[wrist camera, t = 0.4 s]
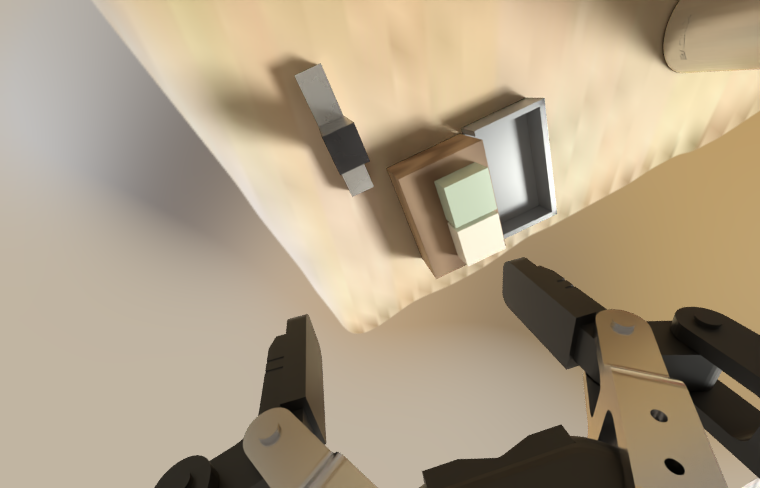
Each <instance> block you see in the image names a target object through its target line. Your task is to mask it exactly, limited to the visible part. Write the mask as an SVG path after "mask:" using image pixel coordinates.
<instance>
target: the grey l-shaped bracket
mask: <svg viewBox="0 0 760 488" xmlns="http://www.w3.org/2000/svg"><path fill="white" fill-rule="evenodd" d="M294 76H295V78H296V80H297V82H298V84H299V87H300V89H301V91H302V93H303V95H304V97H305V99H306V101H307V103H308V105H309V107H310V109H311V112H312V114H313V116H314V118H315V120H316V122H317V124H318V126H319V129H320V132H321V136H322V138H323V140H324V142H325V144H326V147H327V149H328V151H329V153H330V155H331V157H332V159H333V161H334V163H335V165H336V167H337V169H338V171H339V173H340V175H342V176H343V178H344V180H345V182H346V185H347V187H348V189H349V191H350V193H351V195H352V197H353V196H355V195H357V194H360V193H362V192H364V191H366V190H368V189H370V188H372V187H374V186H373V183H372V181H371V179H370V176H369V174H368V172H367V169H366V167H365V165H364V164H365V163H367V162H369V161H370V160H369V158H368V155H367V153H366V150H365V148H364V146H363V143H362V141H361V139H360V136H359V134H358V131H357V129H356V127H355V124H354V122H352V121H351V120H349V119H348V118H346V117H345V116H343V114H342V112H341V109H340V107H339V105H338V102H337V100H336V98H335V95H334V93H333V91H332V88H331V86H330V84H329V81H328V79H327V77H326V75H325V72H324V70H323V68H322V65H321V63H320V64H318V65H316V66H314V67H311V68H309V69H307V70H305V71H303V72H301V73H299V74H297V75H294Z"/></svg>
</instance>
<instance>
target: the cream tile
mask: <svg viewBox="0 0 760 488" xmlns="http://www.w3.org/2000/svg"><path fill="white" fill-rule="evenodd" d="M448 226H449V230H450V233H451V236H452V239H453V242H454V245H455V248H456V251H457V254H458V256H459V257H460V258H461V259H462V261H463V262H464V263H465V264H466V265H467V266H470V265H472V264H474V263H476V262H478V261H480V260H483V259H485V258H487V257H489V256H491V255H493V254H495V253H497V252H499V251H502V250H504V249H506V247H505V242H504V238H503V233H502V229H501V224H500V220H499V215H498V213H497V212H495V211H492V212H490V213H487V214H485V215H483V216H481V217H479V218H477V219H475V220H473V221H471V222H468V223H466V224H464V225H462V226H460V227H458V228H455V227H454V226H453V225H452V224H451V223H450V222H448Z"/></svg>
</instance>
